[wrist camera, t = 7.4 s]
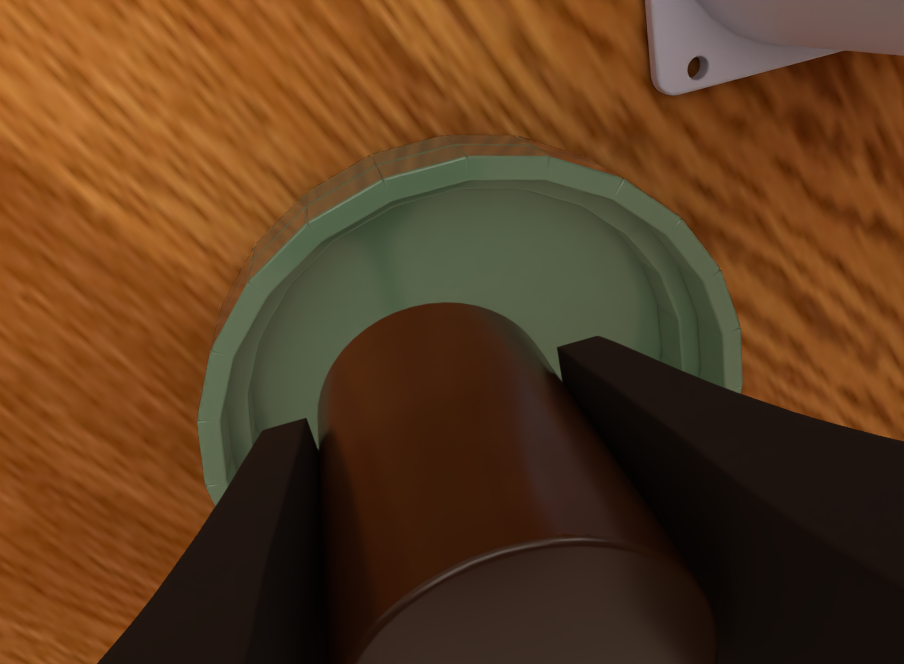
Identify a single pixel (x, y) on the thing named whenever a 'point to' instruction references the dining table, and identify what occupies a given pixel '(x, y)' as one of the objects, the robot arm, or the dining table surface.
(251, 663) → the robot arm
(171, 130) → the dining table surface
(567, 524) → the scoop
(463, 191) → the green bowl
